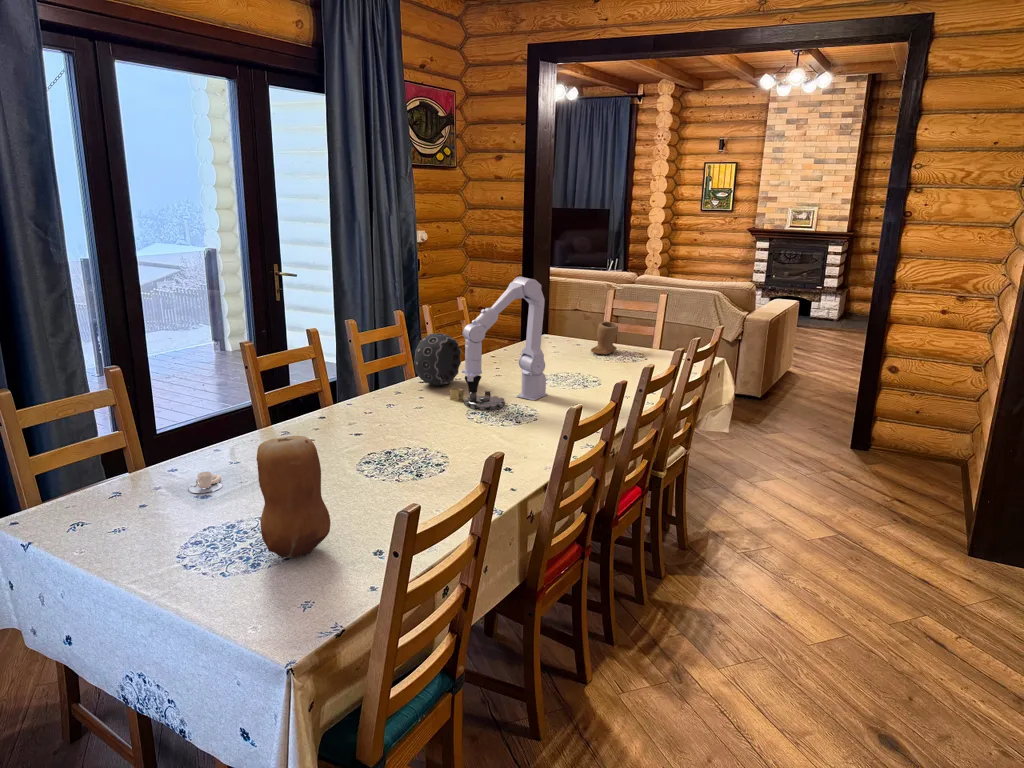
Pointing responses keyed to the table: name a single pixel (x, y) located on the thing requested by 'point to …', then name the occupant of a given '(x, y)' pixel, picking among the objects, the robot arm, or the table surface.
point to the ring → (437, 359)
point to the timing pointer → (488, 393)
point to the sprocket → (483, 401)
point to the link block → (457, 394)
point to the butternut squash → (291, 496)
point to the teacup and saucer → (207, 479)
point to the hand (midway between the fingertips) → (472, 396)
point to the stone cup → (606, 338)
